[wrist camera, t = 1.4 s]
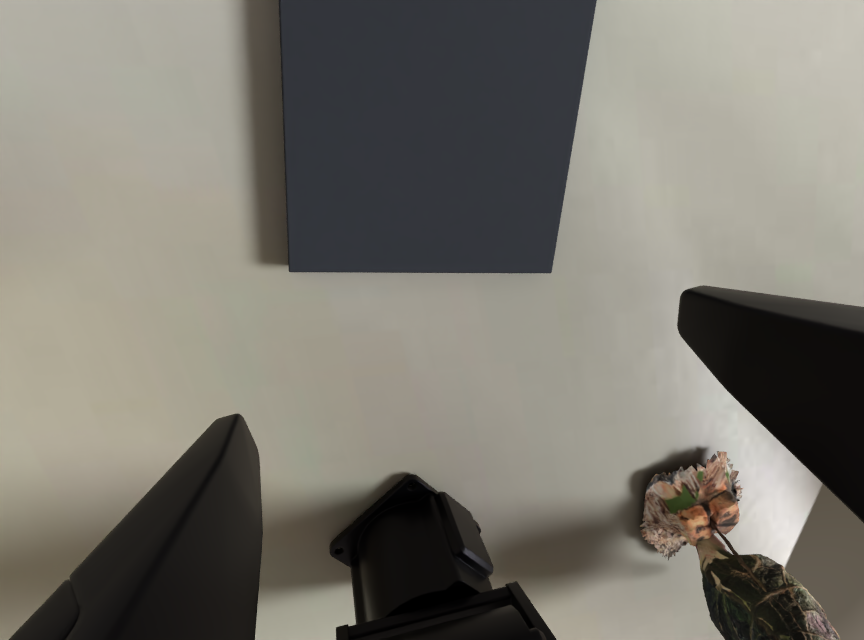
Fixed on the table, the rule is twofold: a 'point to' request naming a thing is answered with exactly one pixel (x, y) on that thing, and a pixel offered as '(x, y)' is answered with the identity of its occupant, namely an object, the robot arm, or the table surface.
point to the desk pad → (429, 131)
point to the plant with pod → (729, 557)
